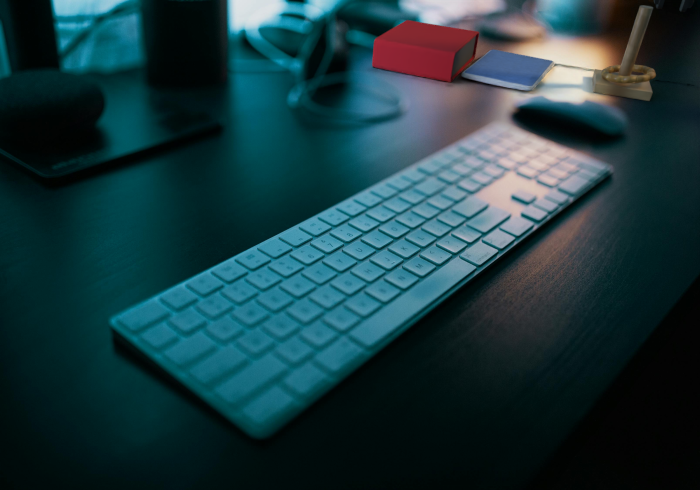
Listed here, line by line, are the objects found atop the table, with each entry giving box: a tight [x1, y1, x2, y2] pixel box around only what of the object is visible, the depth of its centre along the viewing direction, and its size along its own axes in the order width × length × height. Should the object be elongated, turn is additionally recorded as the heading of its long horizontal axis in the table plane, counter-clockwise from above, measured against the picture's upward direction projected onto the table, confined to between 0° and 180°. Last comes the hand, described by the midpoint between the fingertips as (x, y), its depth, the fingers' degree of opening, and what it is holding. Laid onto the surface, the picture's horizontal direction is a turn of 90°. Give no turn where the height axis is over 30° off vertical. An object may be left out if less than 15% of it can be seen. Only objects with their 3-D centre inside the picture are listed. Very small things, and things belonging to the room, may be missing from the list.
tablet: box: [461, 49, 555, 92], centre depth 105 cm, size 19×13×1 cm, turn 153°
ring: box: [601, 64, 657, 83], centre depth 100 cm, size 8×8×1 cm
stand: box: [592, 5, 654, 102], centre depth 98 cm, size 9×9×14 cm
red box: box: [371, 19, 480, 83], centre depth 106 cm, size 18×14×5 cm
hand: (670, 8), depth 93 cm, fingers open, 3 cm apart
